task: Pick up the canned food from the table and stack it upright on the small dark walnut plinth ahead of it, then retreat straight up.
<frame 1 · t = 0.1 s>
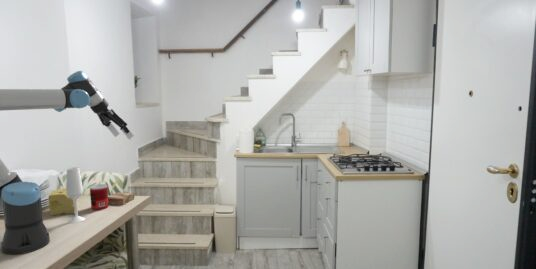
hand: (124, 136, 171), 36 cm above the table, tool tilted 35°, fingers open, 13 cm apart
cheese: (63, 211, 167), on the table
canned food: (100, 207, 172), on the table
plinth: (120, 201, 182), on the table
champagne flute: (76, 220, 156), on the table
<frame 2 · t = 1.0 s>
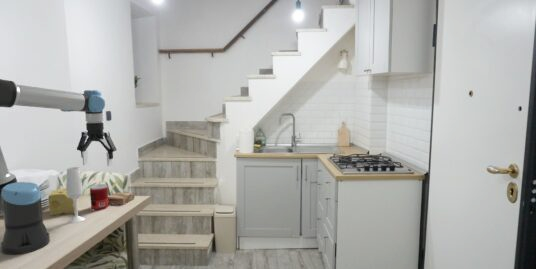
hand: (97, 164, 170), 22 cm above the table, tool pointing down, fingers open, 13 cm apart
nothing on the table moved.
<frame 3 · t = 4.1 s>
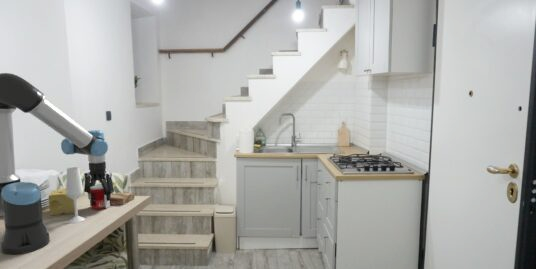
hand: (100, 206, 172), 1 cm above the table, tool pointing down, fingers closed on canned food, 8 cm apart
canned food: (100, 207, 172), on the table, touching gripper
everything else where it was.
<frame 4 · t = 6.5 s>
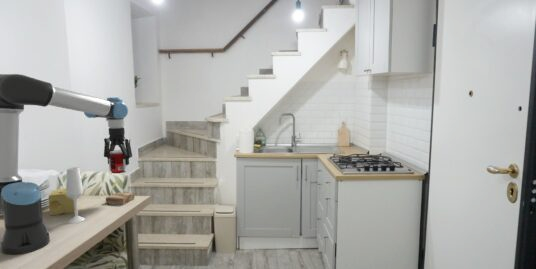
hand: (118, 170, 180), 17 cm above the table, tool pointing down, fingers closed on canned food, 8 cm apart
canned food: (119, 172, 180), point 16 cm above the table, touching gripper
everything else where it was.
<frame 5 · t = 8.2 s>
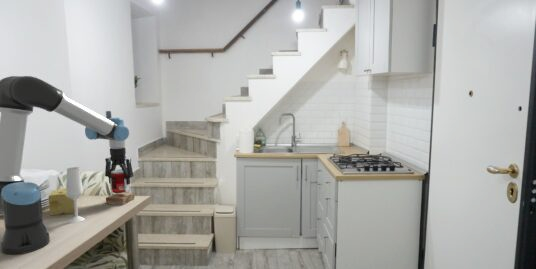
hand: (120, 189, 182), 6 cm above the table, tool pointing down, fingers closed on canned food, 8 cm apart
canned food: (120, 191, 182), point 5 cm above the table, touching gripper
everything else where it was.
when the fingers open (5 cm above the table, at t = 9.3 s): canned food drops 1 cm, resting on plinth.
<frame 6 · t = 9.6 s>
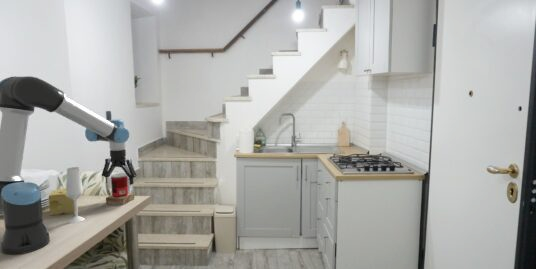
hand: (119, 189, 182), 6 cm above the table, tool pointing down, fingers open, 11 cm apart
canned food: (120, 195, 182), point 3 cm above the table, touching plinth
everything else where it was.
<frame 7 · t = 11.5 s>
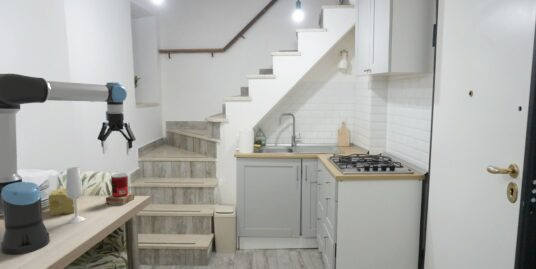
hand: (117, 154, 178), 26 cm above the table, tool pointing down, fingers open, 13 cm apart
nothing on the table moved.
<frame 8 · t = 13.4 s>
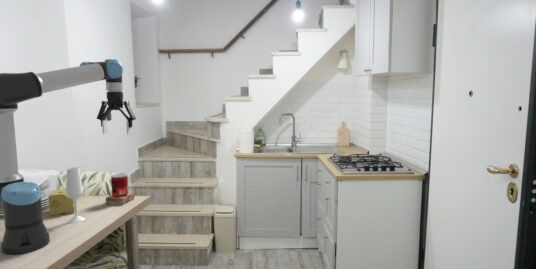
hand: (117, 133, 173), 37 cm above the table, tool pointing down, fingers open, 13 cm apart
nothing on the table moved.
at the end: canned food 0.0 cm from the plinth (horizontally); canned food touching plinth; canned food tilted 0° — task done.
